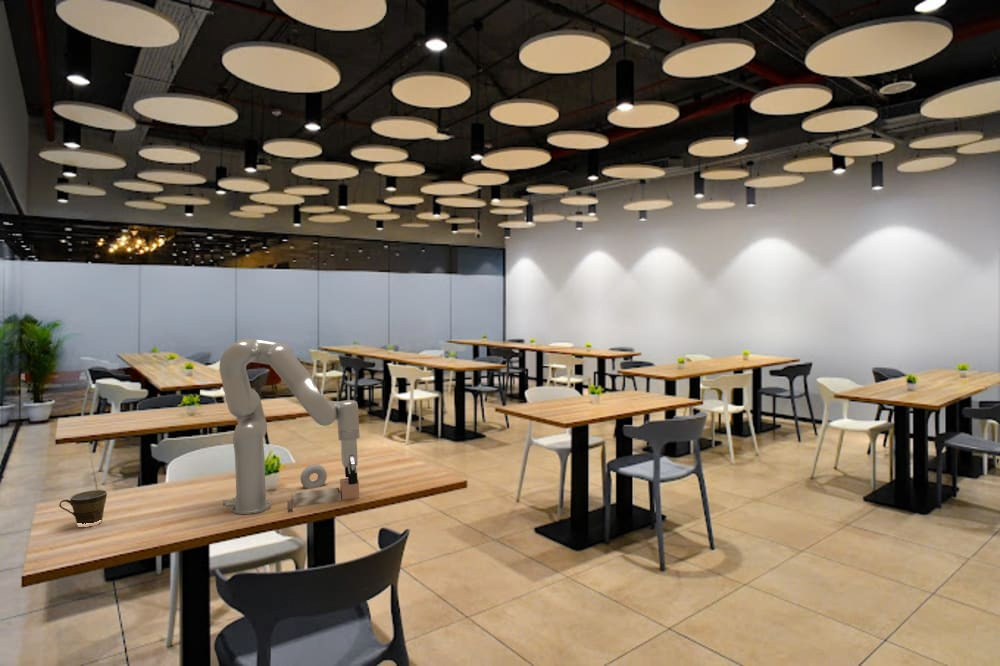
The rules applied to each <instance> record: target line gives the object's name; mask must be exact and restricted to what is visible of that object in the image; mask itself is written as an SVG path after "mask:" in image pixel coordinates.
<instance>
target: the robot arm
mask: <svg viewBox="0 0 1000 666" xmlns="http://www.w3.org/2000/svg"><path fill="white" fill-rule="evenodd" d="M250 363H255V364H257V363H258V364H262V365H269V366H270V367H271V369H273V370H274V372H275V373H276V374H277V375H278V376H279V378H280V379H281V381H283V382H284V384H285V385H286V386H287V387H288V388H289V390H290V391H291V393H292V394H293V396H294V397H295V398H296V399H297V400H298V402H299V403H300V405H301V406H302V408H303V409H304V410H305V411H306V413H307V414H308V415H309V416H310V417H311V418H312V419H313V421H314V422H315V423H316V424H318V425H320V426H323V427H325V426H327V427H328V426H330V425H332V424H333V423H334V422H335V420H336V421H337V435H338V440H339V441H340V445H341V446H340V451H341V453H340V454H341V464H342V466H343V467H344V475H345V478H348V484H349V485H351V484H357V483H358V481H359V479H358V471H357V466H358V460H359V459H358V443H357V441H358V439H359V438H360V422H359V405H358V401H356V400H354V399H349V400H347V399H346V400H341V401H335V400H334V401H331V400H326V398H325V397H324V396H323V394H322V393H321V392H320V390H319V388H318V387H317V386H316V383H315V381H314V379H313V377H312V375H311V373H310V372H309V371H308V369H306V367H304V365H303V364H302V363H301V362H300V361H299V359H298V358H297V356H295V353H294V350H293V348H292V347H291V346H290V345H289V344H286V343H281V342H280V343H279V342H276V341H275V342H274V341H267V340H261V339H256V338H245V339H240V340H237V341H236V342H234V343H232V344H231V345H229V347H228V348H226V349H225V351H224V352H223V353H222V355H221V357H220V360H219V365H218V367H219V375H220V378H221V383H222V388H223V392H224V395H225V401H226V404H227V405H226V406H227V409H228V412H229V413H230V414H231V415H232V416H233V417H235V419H236V422H237V426H236V427H235V429H234V431H233V434H232V442H233V443H232V444H233V450H234V467H235V492H236V493H235V494H236V495H235V497H233V498H232V499H224V500H222V507H224V506H225V507H226V508H229V507H231V512H232V511H233V512H234V514H235V513H237V514H236V515H241V514H246V515H252V514H251V513H254V514H258V512H259V513H261V512H265V511H268V510H269V509H270V508H271V504H272V503H271V501H269V500H267V496H266V493H267V492H266V490H267V489H266V463H265V450H264V449H265V448H264V437H265V436H266V434H267V430H268V424H267V420H266V416H265V412H264V407H263V404H262V400H261V397H260V395H259V393H258V392H257V391H256V390H255V389H253V388H252V387H251V382H250V379H249V375H248V372H247V365H248V364H250ZM233 512H232V513H233Z"/></svg>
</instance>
